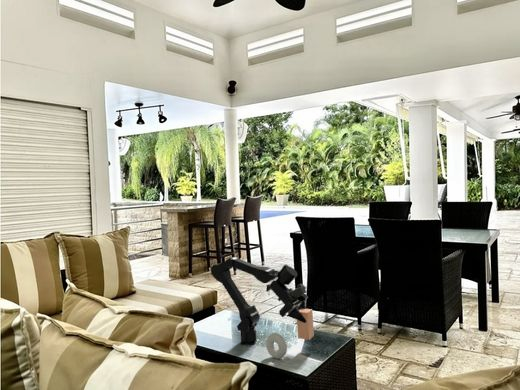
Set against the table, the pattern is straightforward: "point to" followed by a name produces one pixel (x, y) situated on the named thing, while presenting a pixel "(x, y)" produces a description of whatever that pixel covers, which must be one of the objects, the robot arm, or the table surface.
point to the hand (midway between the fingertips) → (308, 320)
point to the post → (306, 325)
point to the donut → (271, 348)
